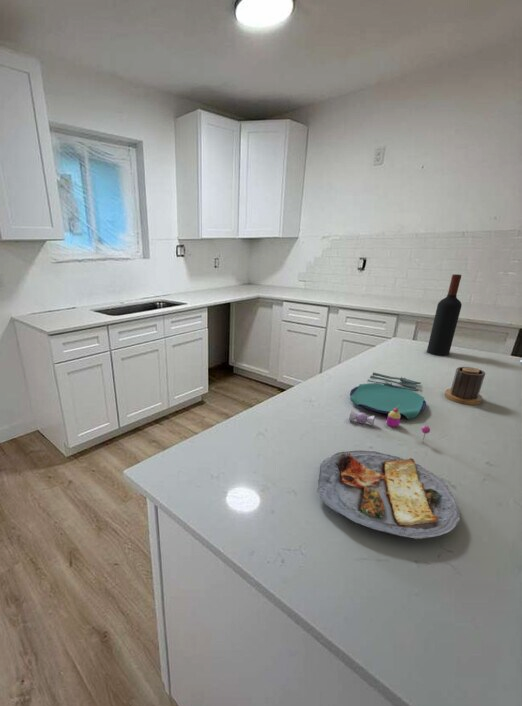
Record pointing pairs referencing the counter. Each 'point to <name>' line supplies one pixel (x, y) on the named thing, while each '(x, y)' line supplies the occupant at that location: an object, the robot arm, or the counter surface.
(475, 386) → the walnut ring
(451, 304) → the wine bottle
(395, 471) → the food plate
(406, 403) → the cutlery set
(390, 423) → the candy
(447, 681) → the counter surface
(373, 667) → the counter surface
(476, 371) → the wooden stand
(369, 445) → the counter surface
